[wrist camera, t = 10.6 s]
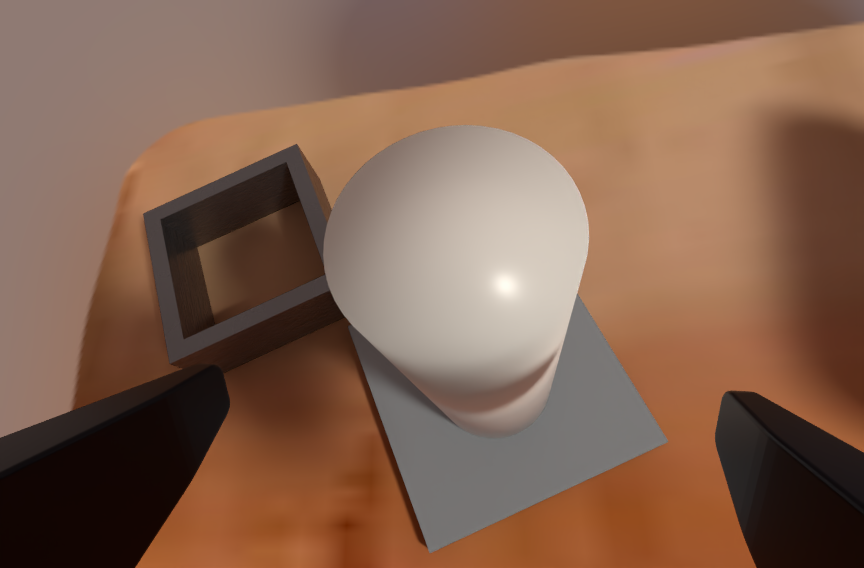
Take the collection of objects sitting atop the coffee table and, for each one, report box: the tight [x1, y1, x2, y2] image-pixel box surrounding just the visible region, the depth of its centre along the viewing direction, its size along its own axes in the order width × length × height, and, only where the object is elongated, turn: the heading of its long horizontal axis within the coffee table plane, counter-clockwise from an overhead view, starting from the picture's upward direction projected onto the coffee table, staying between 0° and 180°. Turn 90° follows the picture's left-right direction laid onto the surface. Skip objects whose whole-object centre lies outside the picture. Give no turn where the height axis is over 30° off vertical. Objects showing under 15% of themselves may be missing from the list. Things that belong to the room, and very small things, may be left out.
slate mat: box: [348, 294, 668, 553], centre depth 21 cm, size 10×10×1 cm
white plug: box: [323, 125, 589, 439], centre depth 15 cm, size 5×5×13 cm
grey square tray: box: [143, 144, 345, 373], centre depth 24 cm, size 8×8×3 cm
